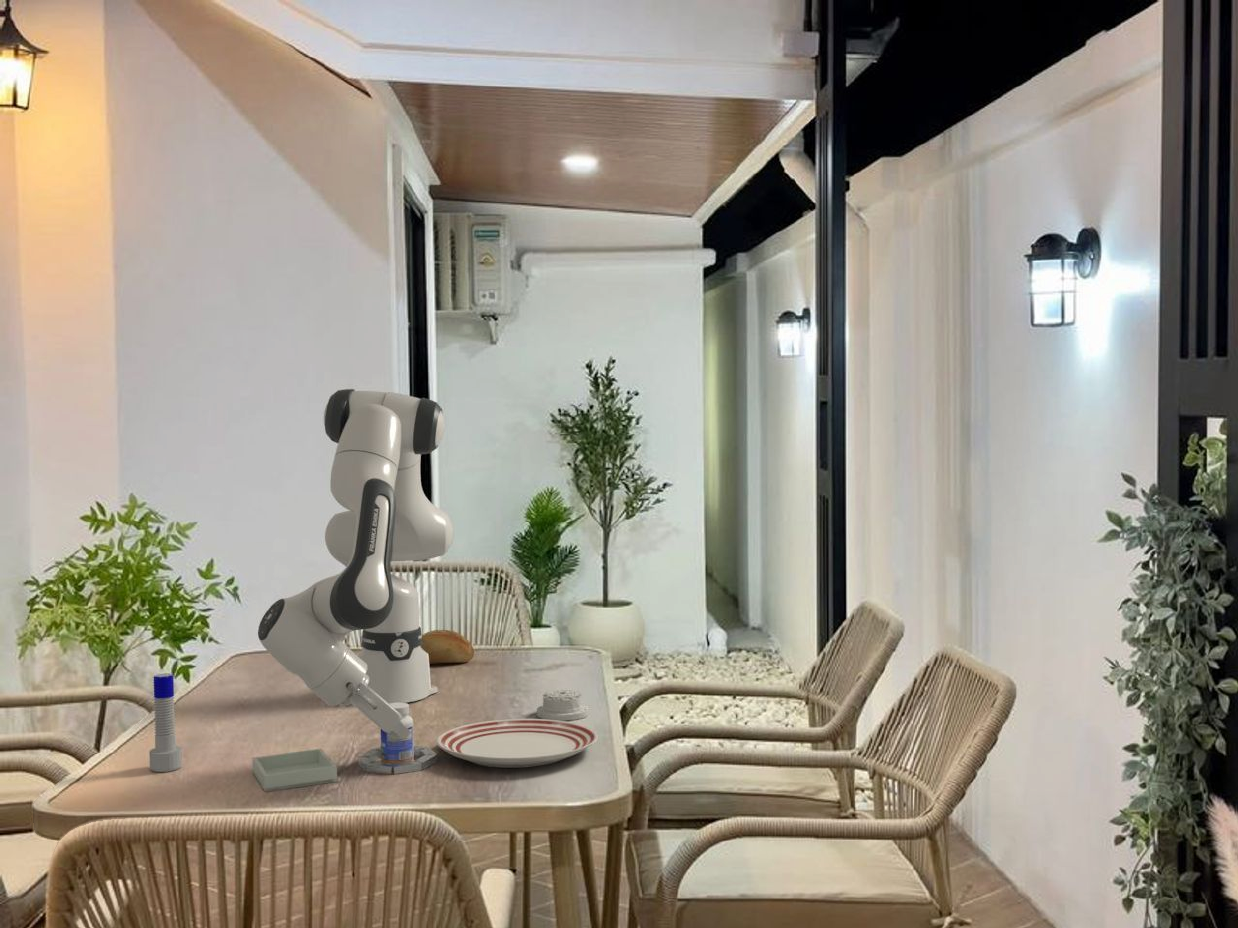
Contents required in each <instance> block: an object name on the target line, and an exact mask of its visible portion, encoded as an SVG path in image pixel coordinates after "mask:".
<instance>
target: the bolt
mask: <svg viewBox="0 0 1238 928" xmlns="http://www.w3.org/2000/svg"><path fill="white" fill-rule="evenodd" d="M152 678H153V700H154V702H153V703H154V707H153V709H154V711H153V712H154V731H155V732H154V733H155V734H154V742H155V743H154V745H155V747H154V748H151V749H150V750H149V752H148V753H149V755H148V756H149V769H150V771H151V772H155V773H167V772H168V773H169V772H173V771H174V772H175V771H176V770H179V769H181V767H182V766H183V755H182V754H183V753H182V752H183V750H182V747H181V746H180V745H179V746H178V745H176V727H175V726H176V725H175V723H176V722H175V721H176V720H175V718H176V717H175V715H176V714H175V683H174V679H175V678H174V675H173V674H172V673H170V672H169V673H167V672H165V673H158V674H155V675H154V676H153V677H152Z"/></svg>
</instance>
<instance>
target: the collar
mask: <svg viewBox="0 0 1238 928" xmlns="http://www.w3.org/2000/svg"><path fill="white" fill-rule="evenodd" d="M413 753H414V757H419V758H417V759H415V760H413V761H409V762H402V763H395V764H393V763H382V762H381V761H376V760H378V759H381V747H376V748H371V749H369V750H367V751H365V752H364V753H361V754H360V755H358V756H357V765H358V766H359V767H360V768H361V769H362V770H363V771H364V772H366V773H374V774H386V775H397V774H405V773H412V772H419V771H422V770H426V769H427V768H429V767H431V766H432V765H434V764H436V763H437V760H438V753H436V752H435V751H433V749H431V748H430V747H428V746H419V745H413Z"/></svg>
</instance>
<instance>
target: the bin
mask: <svg viewBox="0 0 1238 928" xmlns="http://www.w3.org/2000/svg"><path fill="white" fill-rule="evenodd" d="M251 759H252V760H251V761H252V774H253V776H254V777H255V778H256V780H257V782H258V783H259V785H260V787H261V788H262V790H263V791H264V792H265V793H266V792H274V791H281V790H286V789H288V790H289V789H295V788H301V787H309V786H310V787H311V786H316V785H324V784H330V783H336V782H338V766H337V764H335V762H334V761H333V760H332V759H331V757H330V756H329V755H328V754H327V753H326V752H325V751H324V750H323V749H322V748H317V749H309V750H299V751H294V752H292V751H291V752H286V753H278V754H271V755H262V756H256V757H252V758H251Z"/></svg>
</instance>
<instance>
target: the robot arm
mask: <svg viewBox="0 0 1238 928" xmlns="http://www.w3.org/2000/svg"><path fill="white" fill-rule="evenodd" d="M323 424H324V431H325V434H326V436H328V438H329V439H330V440H331V441H332V442H333V443H335V444H337V446H336V449H335V454H334V458H333V461H332V467H331V471H330V479H329V480H330V492H331V494H332V496H333V498H334V500H335V501H336V503H338V505H340V506H341V507H343V508H344V509H346V510H347V511H343V512H342V511H341V512H338V513H334V515H333V516H332V517H331V518H330V519H329V521H328V522H327V524H326V527H325V533H324V541H325V545H326V548H327V551H328V552H329V554H330V555H331V556H332V557H333V559H335V560H336V561H338V562H339V563H340V564H342V565H343V566H344V567H345V568H344V569H343V570H342V571H341V572H340V573H338V574H335V575H331V576H329V577H326V578H323V579H321V580H319V581H317V582H316V581H315V582H314V583H313V584H312V585H310V586H309V587H307V589H305V590H303V591H301V592H298V593H297V594H294V595H292V596H289V597H286V598H280V599H278V600H277V601H275V602H274V603H273V604H272V605H270V607H269V608H268V609H267V610H266V611H265V613H264V615H263V616H262V618H261V620H260V622H259V625H258V630H257V636H258V640H259V641H260V643H261V645H262V647H263V648H264V649H265V650H266V651H267V652H268V653H269V654H270V655H271V656H272V657H273V659H275V660H276V661H277V662H278V663H279V664H280V665H281V666H282V667H283V668H285V669H286V670H287V672H289V673H291V674H294V675H296V676H297V677H299V678H300V679H301V680H302V681H303V683H304V684H305V686H306V687H307V688H308V689H309V690H310V691H311V692H313V693H314V694H315V695H317V697H318V698H320V699H321V700H322V701H323V702H324V703H326V704H327V705H328V706H329V707H336V706H338V705H340V706H342V708H344V707H347V706H350V705H352V706H354V707H355V708H356V709H358V710H359V711H360V712H361V713H362V714H363V715H364V716H366V718H368V719H369V720H370V721H371V722H372V723H373V724H375V725H376V726H377V727H378V728H379V729H380V730H381V729H382V730H383V731H384V732H386V733H390V732H391V731H393V732H394V733H396V734H397V735H398V736H399V737H401V738H402V739H406V737H407V736H408V735H409V734H410V730H409V729H408V728H406V727H405V726H404V725H403V724H402V723H401V722H400V721H401V719H402V716H401V714H400V713H399V712H398V711H397V710H395V709H394V708H393V707H392V706H391V705H390V703H410V702H411V703H412V702H417V701H419V700H423V699H426V698H427V697H428V696H430V695H432V694H435V693H436V694H437V693H438V691H439V690H438V686H436V685H433V684H431V683H432V682H431V673H430V672H431V670H430V664H429V656H428V653H426V652H425V651H424V650H423V649H422V648H421V646H420V645H421V644H422V639H421V638H422V635H423V633H422V628H421V627H420V615H419V609H420V608H419V607H420V606H419V593H418V590H417V588H416V587H415V586H414V585H413V584H412V583H411V582H409V581H407V580H406V579H403V578H401V577H399V576H396V575H394V574H392V573H391V571H392V570H391V563H392V562H408V561H409V562H410V561H411V562H412V561H425V560H431V559H433V558H437V557H443V556H444V555H445V554H446V553H447V552H448V551H449V549H450V548H451V546H452V543H453V540H454V526H453V523H452V520H451V518H450V517H449V516H448V514H447V513H446V512H445V511H444V510H442V509H441V508H439V507H438V506H435V504H434V503H432V502H431V501H430V500H429V499H428V497H427V496H426V495H425V493H424V490H423V486H422V481H421V479H422V477H421V476H422V475H421V460H422V459H421V458H422V457H421V456H422V455H427V454H430V453H432V452H433V451H435V450H436V449H438V447H439V444H440V443H441V440H442V439H443V437H444V433H445V429H446V428H445V427H446V422H445V417H444V414H443V408H442V407H441V406H440V405H439V402H436V401H434V400H432V399H430V398H425V397H422V398H419V397H416V396H412V395H408V394H402V393H399V392H398V393H397V392H390V391H387V392H384V391H377V390H376V391H375V390H355V389H353V388H346V389H339V390H337V391H336V392H334V393H332V394H331V395H330V397H329V399H328V402H327V404H326V406H325V408H324V412H323ZM361 630H362V633H361V647H362V648H361V650H360V652H359V653H358V655H357V654H356V653H355V652H353V651H352V650H351V648H349V647H348V646H346V644H345V643H344V638H345V637H346V636H347V634H349V633H352V632H354V631H361Z"/></svg>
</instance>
